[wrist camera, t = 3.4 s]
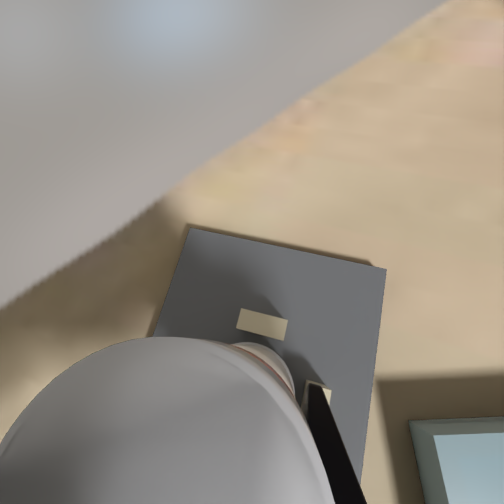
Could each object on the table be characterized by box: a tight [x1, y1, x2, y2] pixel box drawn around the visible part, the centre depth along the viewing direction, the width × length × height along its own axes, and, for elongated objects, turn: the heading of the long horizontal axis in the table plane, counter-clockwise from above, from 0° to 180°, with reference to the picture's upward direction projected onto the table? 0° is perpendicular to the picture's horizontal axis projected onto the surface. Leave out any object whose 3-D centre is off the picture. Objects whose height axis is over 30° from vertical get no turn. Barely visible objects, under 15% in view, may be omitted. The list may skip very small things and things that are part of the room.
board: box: [152, 228, 387, 484], centre depth 14 cm, size 16×12×3 cm
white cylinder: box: [0, 337, 335, 504], centre depth 9 cm, size 5×5×12 cm
